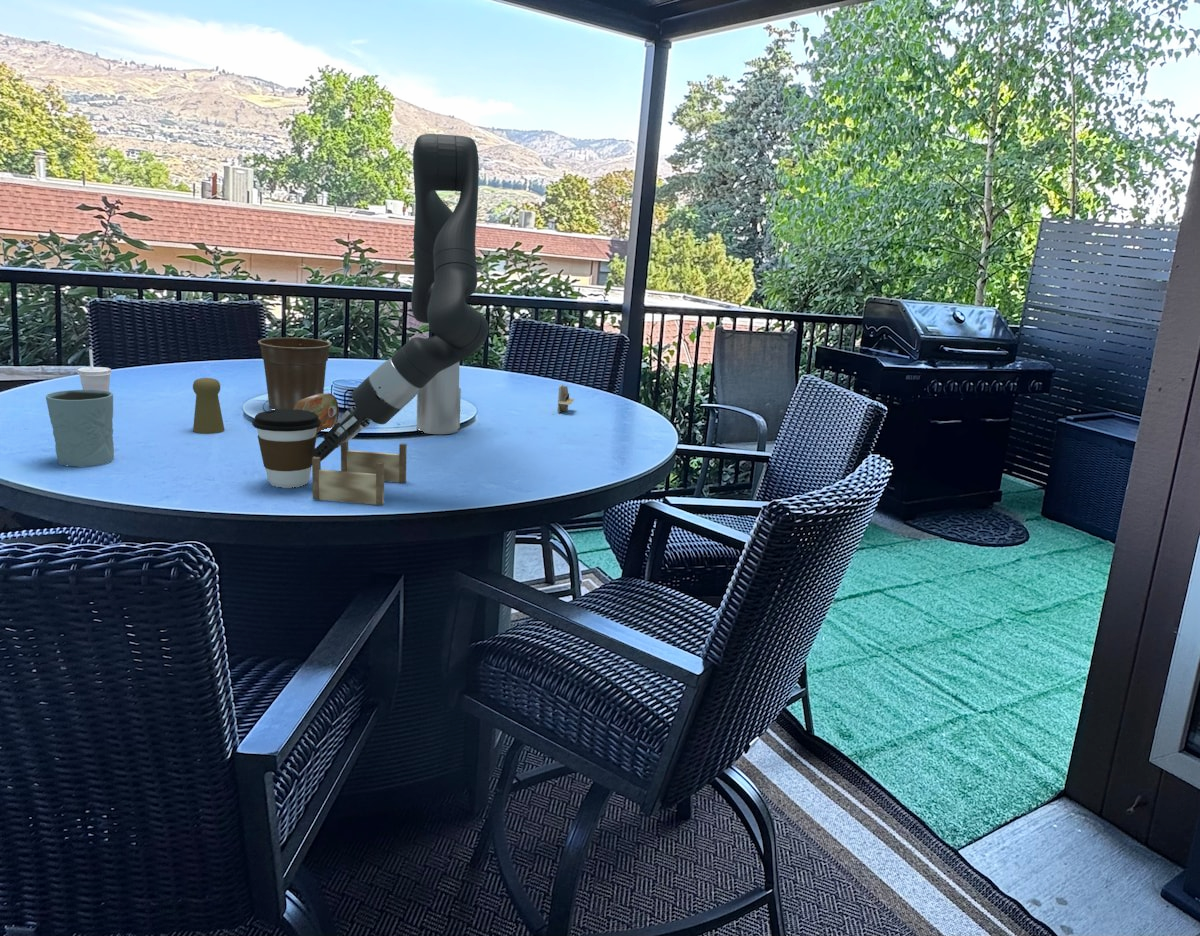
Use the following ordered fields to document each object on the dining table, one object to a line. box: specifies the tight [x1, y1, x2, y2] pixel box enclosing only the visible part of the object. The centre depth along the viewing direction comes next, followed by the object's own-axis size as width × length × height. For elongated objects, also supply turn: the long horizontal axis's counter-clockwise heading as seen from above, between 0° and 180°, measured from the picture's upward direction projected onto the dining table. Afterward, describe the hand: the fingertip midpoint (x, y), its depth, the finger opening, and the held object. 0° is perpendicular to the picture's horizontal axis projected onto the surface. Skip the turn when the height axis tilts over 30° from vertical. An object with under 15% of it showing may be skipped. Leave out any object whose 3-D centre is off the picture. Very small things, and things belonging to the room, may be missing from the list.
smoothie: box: [77, 348, 113, 392], centre depth 183 cm, size 6×6×14 cm
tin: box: [293, 393, 340, 434], centre depth 180 cm, size 15×3×8 cm, turn 168°
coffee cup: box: [251, 409, 321, 489], centre depth 144 cm, size 11×11×12 cm
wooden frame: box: [311, 441, 408, 506], centre depth 144 cm, size 12×14×7 cm
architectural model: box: [557, 383, 575, 415], centre depth 221 cm, size 3×7×7 cm, turn 173°
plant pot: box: [257, 337, 332, 410], centre depth 201 cm, size 16×16×16 cm
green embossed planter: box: [45, 389, 115, 467], centre depth 149 cm, size 10×10×12 cm
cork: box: [192, 377, 225, 435], centre depth 176 cm, size 6×6×11 cm
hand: (316, 456), depth 143 cm, fingers closed
